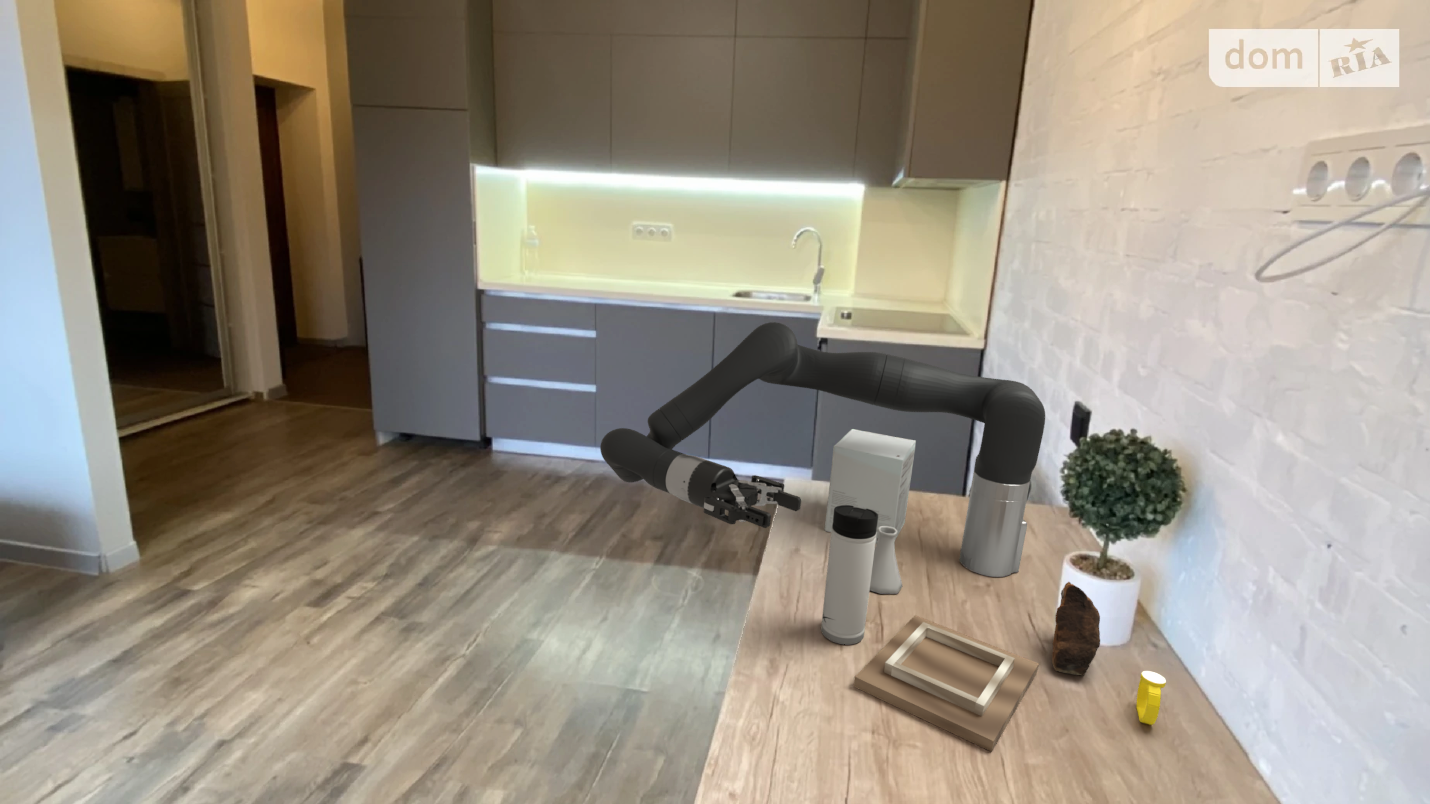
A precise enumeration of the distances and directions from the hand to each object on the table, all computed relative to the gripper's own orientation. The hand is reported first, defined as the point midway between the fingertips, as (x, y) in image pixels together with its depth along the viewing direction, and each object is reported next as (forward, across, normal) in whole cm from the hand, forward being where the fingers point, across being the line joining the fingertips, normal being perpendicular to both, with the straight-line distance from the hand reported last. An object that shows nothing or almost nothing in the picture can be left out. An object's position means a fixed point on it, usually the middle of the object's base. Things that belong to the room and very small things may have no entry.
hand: (785, 512), depth 112 cm
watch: (+50, +10, +15) cm, 53 cm away
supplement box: (-3, +37, +16) cm, 40 cm away
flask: (+10, +18, +16) cm, 26 cm away
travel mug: (+12, 0, +16) cm, 20 cm away
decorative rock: (+39, +18, +15) cm, 46 cm away
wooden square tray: (+28, 0, +15) cm, 32 cm away
